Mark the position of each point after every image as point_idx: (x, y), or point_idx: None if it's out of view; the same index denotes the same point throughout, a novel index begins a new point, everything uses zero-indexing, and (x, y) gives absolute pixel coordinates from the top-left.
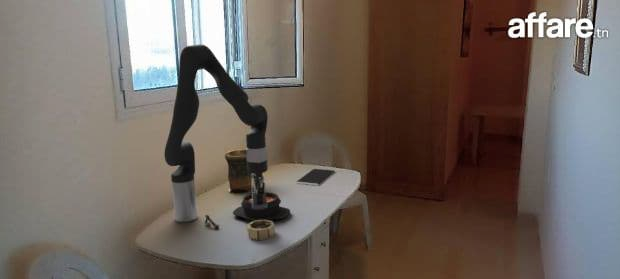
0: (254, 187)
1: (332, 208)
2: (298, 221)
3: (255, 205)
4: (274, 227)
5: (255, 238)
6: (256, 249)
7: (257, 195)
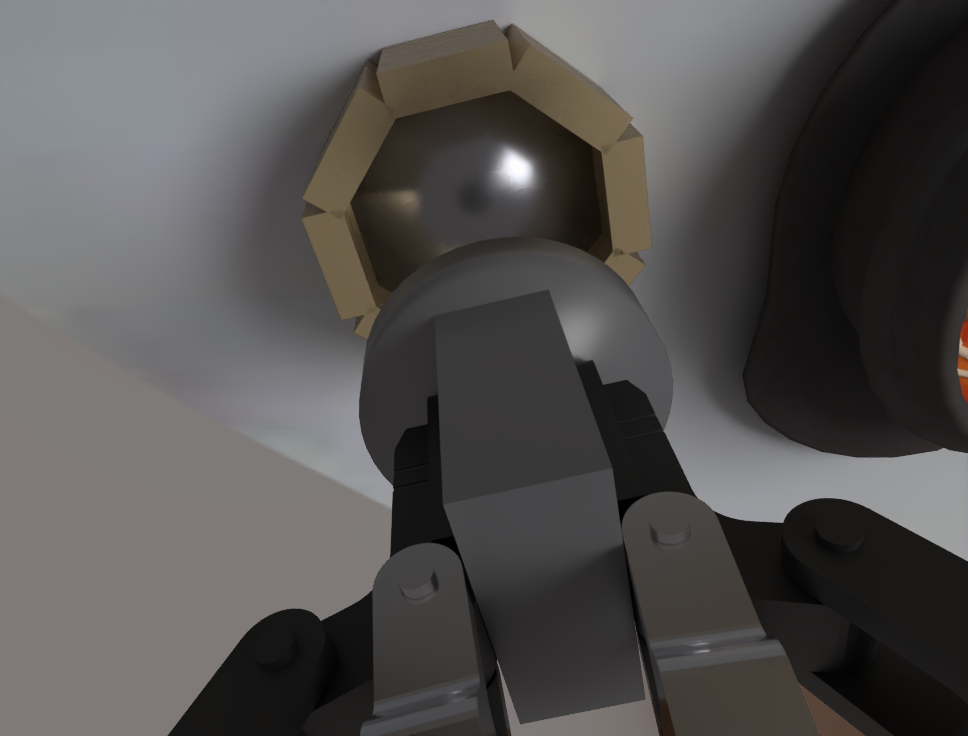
0: (476, 732)
1: None
2: (697, 486)
3: (391, 356)
4: None
5: (329, 137)
6: (87, 155)
7: (437, 549)
